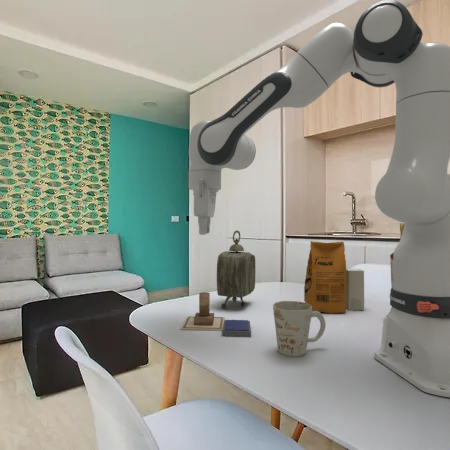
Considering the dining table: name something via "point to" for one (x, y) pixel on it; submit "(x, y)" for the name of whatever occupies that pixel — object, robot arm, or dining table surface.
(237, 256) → the tabletop clock
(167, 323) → the dining table surface
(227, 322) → the ink pad
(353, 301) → the box
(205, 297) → the stamp
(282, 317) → the mug
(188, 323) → the card
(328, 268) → the coffee package
